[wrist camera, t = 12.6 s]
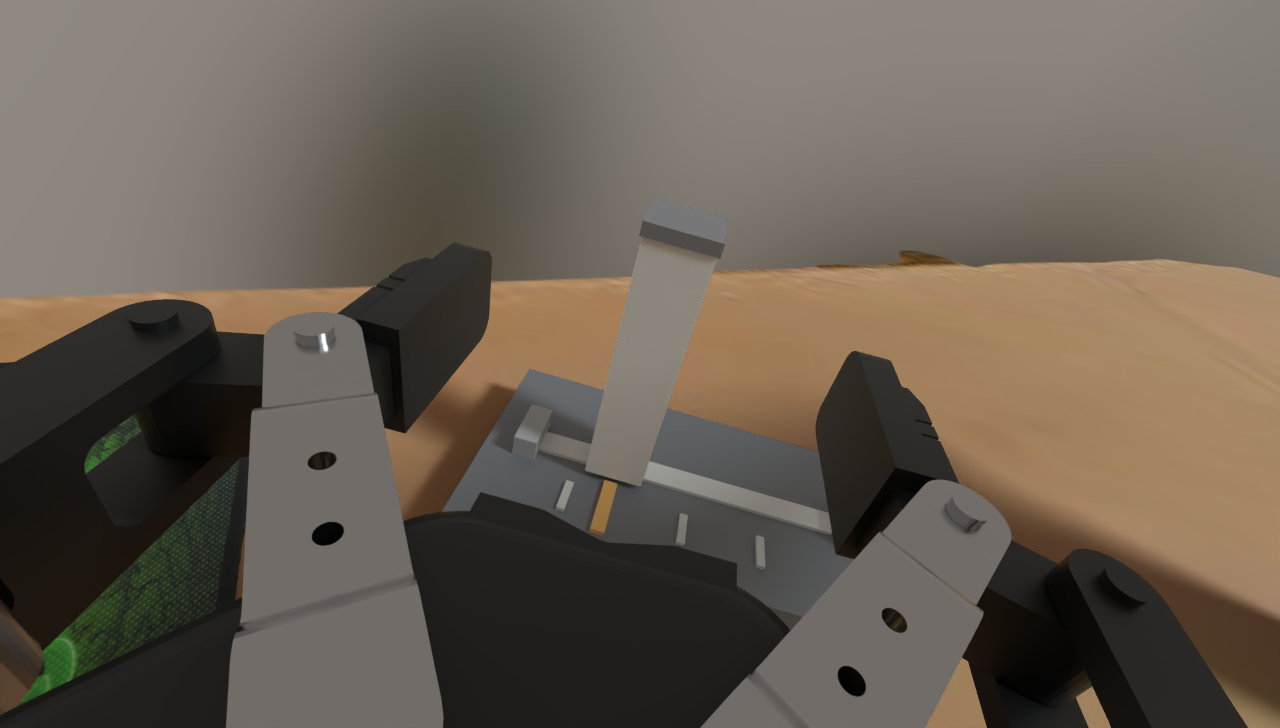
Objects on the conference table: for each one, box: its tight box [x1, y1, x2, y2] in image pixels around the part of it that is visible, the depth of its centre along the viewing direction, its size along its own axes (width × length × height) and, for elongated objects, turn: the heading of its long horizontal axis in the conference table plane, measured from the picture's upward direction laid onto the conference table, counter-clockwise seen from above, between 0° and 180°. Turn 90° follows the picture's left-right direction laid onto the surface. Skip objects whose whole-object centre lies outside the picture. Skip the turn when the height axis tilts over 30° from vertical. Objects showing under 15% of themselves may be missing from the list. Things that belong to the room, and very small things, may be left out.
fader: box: [585, 198, 727, 487], centre depth 25 cm, size 3×3×14 cm
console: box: [442, 369, 854, 630], centre depth 29 cm, size 22×12×4 cm, turn 81°
